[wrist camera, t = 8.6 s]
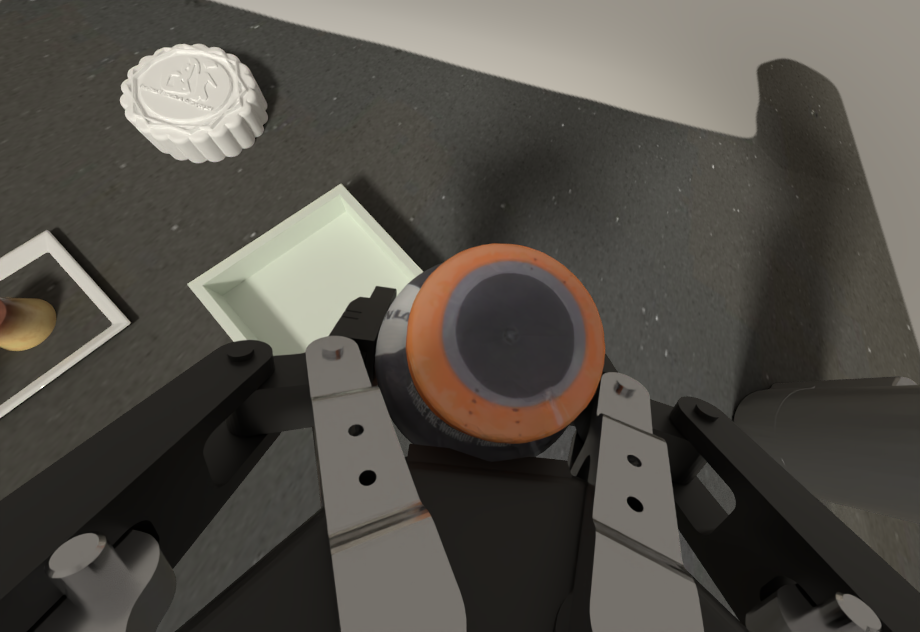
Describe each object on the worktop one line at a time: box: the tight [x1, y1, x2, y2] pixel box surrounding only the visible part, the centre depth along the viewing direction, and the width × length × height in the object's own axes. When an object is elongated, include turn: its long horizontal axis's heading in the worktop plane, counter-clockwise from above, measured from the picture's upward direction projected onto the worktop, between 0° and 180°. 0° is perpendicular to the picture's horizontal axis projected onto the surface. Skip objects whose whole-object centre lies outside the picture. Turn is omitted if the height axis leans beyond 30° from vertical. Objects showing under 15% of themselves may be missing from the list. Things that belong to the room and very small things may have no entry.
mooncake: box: [120, 44, 268, 163], centre depth 33 cm, size 12×12×4 cm
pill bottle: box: [375, 243, 605, 462], centre depth 12 cm, size 6×6×11 cm
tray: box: [187, 184, 423, 356], centre depth 29 cm, size 15×15×4 cm
